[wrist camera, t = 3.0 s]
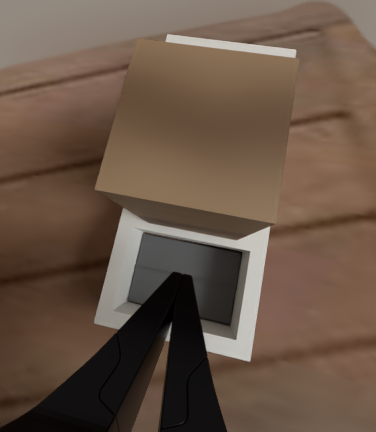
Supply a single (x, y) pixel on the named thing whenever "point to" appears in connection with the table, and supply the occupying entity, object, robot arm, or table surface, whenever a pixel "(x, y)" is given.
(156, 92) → the walnut block
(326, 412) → the table surface
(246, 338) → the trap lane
